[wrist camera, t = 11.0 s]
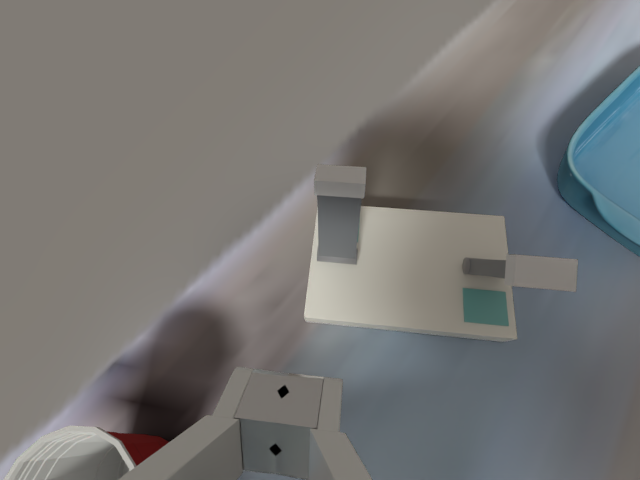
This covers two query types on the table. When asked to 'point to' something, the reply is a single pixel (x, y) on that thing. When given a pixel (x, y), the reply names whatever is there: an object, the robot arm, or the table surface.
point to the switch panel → (416, 276)
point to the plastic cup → (84, 455)
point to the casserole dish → (608, 165)
